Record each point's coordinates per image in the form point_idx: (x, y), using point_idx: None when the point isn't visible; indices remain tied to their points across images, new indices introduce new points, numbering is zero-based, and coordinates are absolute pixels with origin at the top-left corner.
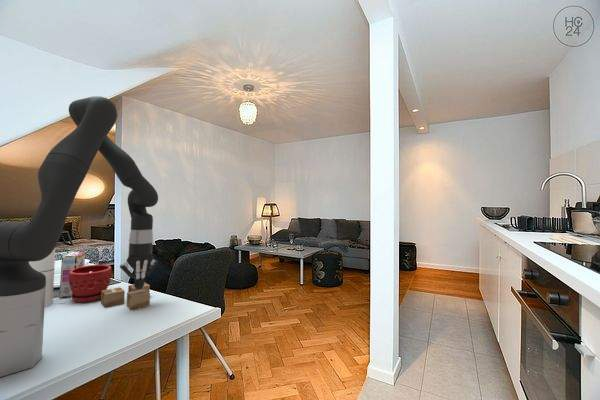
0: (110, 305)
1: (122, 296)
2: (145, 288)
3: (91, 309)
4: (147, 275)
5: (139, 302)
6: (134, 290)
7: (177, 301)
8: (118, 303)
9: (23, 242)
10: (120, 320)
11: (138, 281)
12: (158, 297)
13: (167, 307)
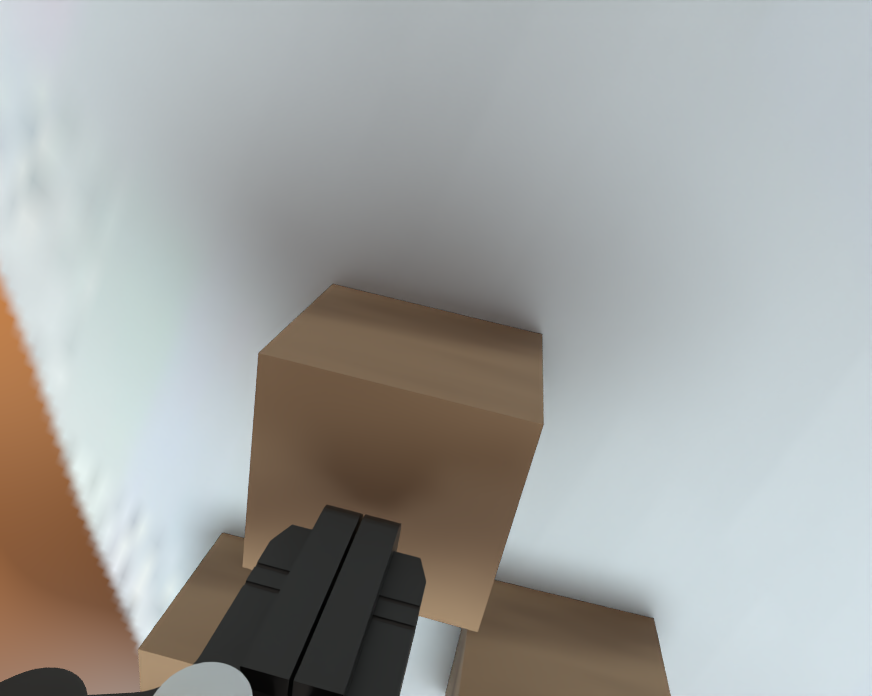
0: (604, 617)
1: (486, 652)
2: (206, 636)
3: (746, 677)
4: (75, 689)
5: (436, 343)
6: None
7: (17, 150)
8: (527, 601)
9: None
10: (818, 112)
11: (349, 638)
12: (150, 459)
13: (187, 40)
